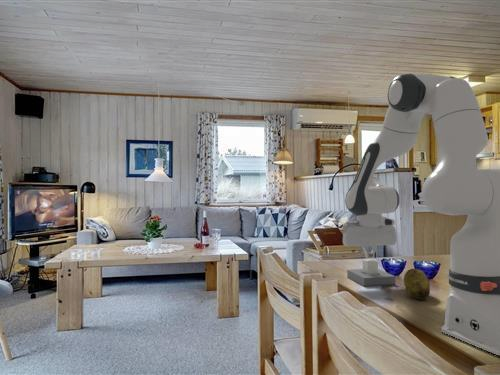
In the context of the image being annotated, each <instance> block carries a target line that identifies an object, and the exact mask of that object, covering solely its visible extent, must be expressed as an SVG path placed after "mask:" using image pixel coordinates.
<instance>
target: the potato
mask: <svg viewBox="0 0 500 375" xmlns="http://www.w3.org/2000/svg"><path fill="white" fill-rule="evenodd" d="M403 284H404V288H405V291H406V293H407V294H408V296H409V297H411V298H413V299H415V300H420V301H422V300H426V299H427V298H429V296H430V294H431V292H430V290H431V288H430V287H431V286H430V285H431V284H430V279H429V277H428V276H427V275H426V273H425V271H424V270H421V269H419V268H411V269H408V270H407V271H406V272H405V274H404V276H403Z"/></svg>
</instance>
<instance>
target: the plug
mask: <svg viewBox="0 0 500 375" xmlns="http://www.w3.org/2000/svg"><path fill="white" fill-rule="evenodd" d="M378 262H379V260H376V259H374V258H366V259H362V269H363V273H364V274H366V275H374V274H378V269H379V264H378Z"/></svg>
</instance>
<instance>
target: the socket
mask: <svg viewBox="0 0 500 375" xmlns="http://www.w3.org/2000/svg"><path fill="white" fill-rule="evenodd" d="M346 273H347V274H346V275H347V278H348V279H350V280H351V281H353V282H354V283H356V284H358V285H360V286H362V287H365V288H366V287H377V286H378V287H379V286H382V287H383V286H395V285H396V275H393V274H390V273H389V272H387V271H384V270H381V269H379V268H378V274H374V275H366V274H364V273H363V268H355V269H354V268H353V269H347V270H346Z"/></svg>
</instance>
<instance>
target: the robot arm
mask: <svg viewBox="0 0 500 375" xmlns="http://www.w3.org/2000/svg"><path fill="white" fill-rule="evenodd" d="M387 100H388V104H389V105H388V108H387V110H386V114H385V116H384V120H383V123H382V127H381V130H380V132H379V134H378V135H377V137H376V138H375V140H374V141H373V142H371V143H370V144H369V145H368V146H367V148H366V149H365V152H364V154H363V156H362V159H361V161H360V164H359V166H358V169H357V171H356V174H355V176H354V178H353V179H354V180H353V181H352V184H351V186H350V187H349V189H348V190H347V192H346V195H345V199H344V202H345V203H344V204H345V206H346V207H345V208H346V209H347V210H348V211H349V212H350V213H351V214H352V215H354V216H355V217H356V220H354V221H353V220H352V221H346V222H345V223H344V224H343V225H342V231H343V232H342V233H343V234H342V245H343V246H344V247H348V248H351V247H352V248H354V247H361V249H362V250H363V253H364V257H365V258H366V259H374V258H375V257H376V256H375V253H376V252H377V250H378V247H379V246H393V245H394V246H395V245H396V244H397V242H398V240H397V239H398V236H397V229H396V227H395V226H394V225H395V220H394V219H392V218H389V217H386V216H383V215H382V214H390V213H394V212H396V210H397V209H398V207H399V205H400V195H399V192H398V191H397V190H396V188H394V187H393V186H389V185H386V184H385V183H383V182H382V181H381V179H380V178H379V177H377V176H375V173H376V171H377V169H378V168H379V167H380V166H381V165H382V164H384V163H386V162H387V161H391V160H393V159H396V158H398V157H401V156H403V155H405V154H407V153H409V152H410V151H411V150H412V149H413V148H414V145H415V144H416V143H417V140H418V136H419V132H420V128H421V124H422V120H423V118H424V117H425V116H426V115H431V120H432V124H433V129H434V134H435V138H436V144H437V153H438V154H437V161H436V165H435V167H434V169H433V170H432V172H431V173H430V174H429V175H428V176H427V177H426V178H425V180H424V182H423V184H422V187H421V197H422V201H423V203H424V204H425V207H427V209H428V210H430V211H431V212H433V213H437V214H442V215H448V216H467V219H466V221H465V223H464V225H463V226H462V228H461V229H460V230H458V231H457V232H455V233H454V234H452V236H451V239H450V242H449V246H450V248H449V249H450V269H448V275H447V278H448V284H449V285H450V288H449V291H448V295H447V297H446V303H445V316H444V323H443V325H442V326H441V329H440V332H441V333H442V332H443V333H442V334H444V333H445V334H444V335H446V334H448V335H447V336H449V335H451V336H453V337H455V338H454V339H456V338H458V339H460V340H462V341H461V342H463V341H465V342H468V343H470V344H473V345H476V346H478V347H481V348H483V349H485V350H488V351H490V352H492V353H494V354H496V355H500V168H499V169H498V168H497V169H495V168H492V169H489V168H488V169H480V168H478V166H477V156H478V155H479V154H480V153H481V152H483V151H484V150H485V148H486V147H487V146H488V142H489V136H488V132H487V128H486V125H485V121H484V118H483V115H482V113H483V112H482V110H481V107H480V104H479V101H478V99H477V97H476V94H475V93H474V91H473V89H472V87H471V85H470V83H469V82H468V81H467V80H466V79H462V78H459V77H454V76H445V75H439V74H438V75H437V74H432V73H416V74H413V73H404V74H400V75H399V74H398V75H397V76H396V77H394V78H393V80H392V81H391V82H390V84H389V87H388V91H387ZM369 247H371V251H368V250H369ZM451 336H450V337H451ZM453 337H452V338H453ZM458 339H457V340H458ZM460 340H459V341H460ZM465 342H464V343H465ZM470 344H469V345H470ZM496 355H495V356H496Z"/></svg>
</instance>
